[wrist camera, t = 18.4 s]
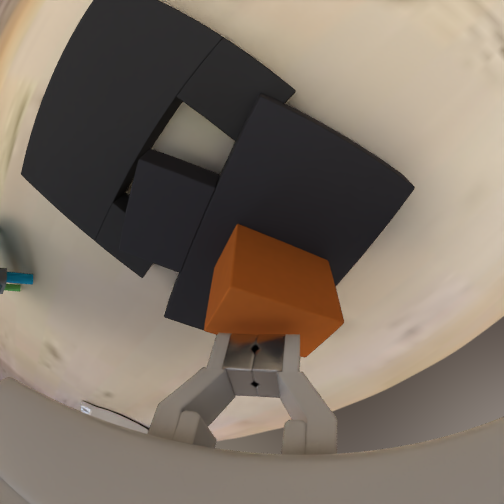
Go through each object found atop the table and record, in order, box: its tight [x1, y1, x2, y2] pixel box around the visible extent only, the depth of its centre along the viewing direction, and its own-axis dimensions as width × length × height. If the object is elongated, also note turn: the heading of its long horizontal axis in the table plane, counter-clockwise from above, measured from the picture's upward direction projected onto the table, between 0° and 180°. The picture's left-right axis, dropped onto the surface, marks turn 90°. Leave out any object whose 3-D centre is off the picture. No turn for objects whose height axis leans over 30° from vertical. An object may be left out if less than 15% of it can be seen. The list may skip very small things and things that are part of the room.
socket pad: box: [21, 0, 295, 278], centre depth 13 cm, size 14×12×2 cm
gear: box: [0, 268, 33, 294], centre depth 19 cm, size 11×6×10 cm
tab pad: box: [119, 93, 415, 357], centre depth 13 cm, size 14×12×6 cm
